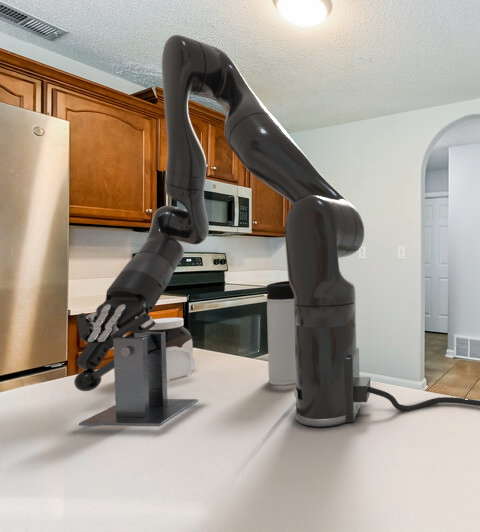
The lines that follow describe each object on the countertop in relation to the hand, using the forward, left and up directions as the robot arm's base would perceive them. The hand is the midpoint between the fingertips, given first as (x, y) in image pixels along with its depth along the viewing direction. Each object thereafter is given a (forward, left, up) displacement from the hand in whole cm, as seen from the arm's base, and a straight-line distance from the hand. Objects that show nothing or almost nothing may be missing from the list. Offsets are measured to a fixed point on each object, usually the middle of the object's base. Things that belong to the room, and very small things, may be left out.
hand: (85, 367), depth 57 cm
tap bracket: (-9, 0, -8) cm, 12 cm away
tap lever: (-5, 0, -1) cm, 5 cm away
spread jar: (0, -19, -8) cm, 21 cm away
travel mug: (-26, -15, -8) cm, 31 cm away
